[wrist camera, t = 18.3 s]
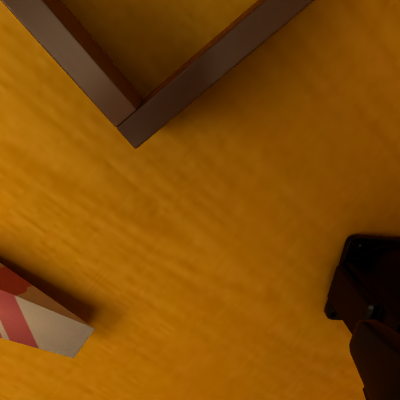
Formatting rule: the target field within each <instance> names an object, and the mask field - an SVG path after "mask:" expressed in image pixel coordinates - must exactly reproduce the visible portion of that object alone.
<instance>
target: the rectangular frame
mask: <svg viewBox="0 0 400 400" xmlns="http://www.w3.org/2000/svg"><path fill="white" fill-rule="evenodd" d="M1 1H2V2H3V3H4V4H5V5H6V6H7V8H8V9H9V10H10V11H11V12H12V13H13V14H14V15H15V16H16V18H17V19H18V20H19V21H20V22H21V23H22V24H23V25H24V26H25V28H26V29H27V30H28V31H29V32H30V33H31V34H32V35H33V36H34V37H35V39H36V40H37V41H38V42H39V43H40V44H41V45H42V46H43V47H44V49H45V50H46V51H47V52H48V53H49V54H50V55H51V56H52V57H53V58H54V60H55V61H56V62H57V63H58V64H59V65H60V66H61V67H62V68H63V70H64V71H65V72H66V73H67V74H68V75H69V76H70V77H71V78H72V80H73V81H74V82H75V83H76V84H77V85H78V86H79V87H80V88H81V89H82V91H83V92H84V93H85V94H86V95H87V96H88V97H89V98H90V99H91V101H92V102H93V103H94V104H95V105H96V106H97V107H98V108H99V109H100V110H101V112H102V113H103V114H104V115H105V116H106V117H107V118H108V119H109V120H110V122H111V123H112V124H113V125H114V126H115V127H117V129H118V130H119V132H120V133H121V134H122V135H123V136H124V137H125V138H126V139H127V140H128V142H129V143H130V144H131V145H132V146H133V147H134V148H135V149H136V148H138V147H139V146H140V145H141V144H143V143H144V142H145V141H146V140H147V139H149V138H150V137H151V136H152V135H153V134H155V133H156V132H157V131H158V130H159V129H161V128H162V127H163V126H164V125H165V124H167V123H168V122H169V121H170V120H171V119H173V118H174V117H175V116H176V115H177V114H179V113H180V112H181V111H182V110H183V109H185V108H186V107H187V106H188V105H189V104H191V103H192V102H193V101H194V100H195V99H197V98H198V97H199V96H200V95H201V94H203V93H204V92H205V91H206V90H207V89H209V88H210V87H211V86H212V85H213V84H215V83H216V82H217V81H218V80H219V79H221V78H222V77H223V76H224V75H225V74H227V73H228V72H229V71H230V70H231V69H232V68H234V67H235V66H236V65H237V64H238V63H240V62H241V61H242V60H243V59H244V58H246V57H247V56H248V55H249V54H250V53H252V52H253V51H254V50H255V49H256V48H258V47H259V46H260V45H261V44H262V43H264V42H265V41H266V40H267V39H268V38H270V37H271V36H272V35H273V34H274V33H276V32H277V31H278V30H279V29H280V28H282V27H283V26H284V25H285V24H286V23H288V22H289V21H290V20H291V19H292V18H294V17H295V16H296V15H297V14H298V13H300V12H301V11H302V10H303V9H304V8H306V7H307V6H308V5H309V4H310V3H312V2H313V1H314V0H258V1H257V2H256V3H255V4H254V5H252V6H251V7H250V8H249V9H248V10H247V11H246V12H244V13H243V14H242V15H241V16H240V17H239V18H237V19H236V20H235V21H234V22H233V23H232V24H230V25H229V26H228V27H227V28H226V29H225V30H224V31H222V32H221V33H220V34H219V35H218V36H217V37H215V38H214V39H213V40H212V41H211V42H210V43H209V44H207V45H206V46H205V47H204V48H203V49H202V50H200V51H199V52H198V53H197V54H196V55H195V56H193V57H192V58H191V59H190V60H189V61H188V62H187V63H185V64H184V65H183V66H182V67H181V68H180V69H178V70H177V71H176V72H175V73H174V74H173V75H172V76H170V77H169V78H168V79H167V80H166V81H165V82H163V83H162V84H161V85H160V86H159V87H158V88H156V89H155V90H154V91H153V92H152V93H151V94H150V95H148V96H147V97H146V98H145V99H144V100H143V98H142V96H141V95H140V94H139V93H138V92H137V90H136V89H135V88H134V87H133V86H132V84H131V83H130V82H129V81H128V80H127V78H126V77H125V76H124V75H123V74H122V72H121V71H120V70H119V69H118V68H117V66H116V65H115V64H114V63H113V62H112V60H111V59H110V58H109V57H108V56H107V55H106V53H105V52H104V51H103V50H102V49H101V47H100V46H99V45H98V44H97V43H96V41H95V40H94V39H93V38H92V37H91V35H90V34H89V33H88V32H87V31H86V29H85V28H84V27H83V26H82V25H81V23H80V22H79V21H78V20H77V19H76V17H75V16H74V15H73V14H72V13H71V11H70V10H69V9H68V8H67V7H66V5H65V4H64V3H63V2H62V1H61V0H1Z"/></svg>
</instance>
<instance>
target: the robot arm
mask: <svg viewBox="0 0 400 400" xmlns="http://www.w3.org/2000/svg"><path fill="white" fill-rule="evenodd" d="M355 241H357V242H356V244H354V245H352V244H353V243H354V242H355ZM332 311H334V312H332ZM324 312H325V314H326V316H327V318H329V319H331V320H343V321H344V323H345V324H346V326H347V327H348V329H349V330H350V332H351V334H352V338H351V340H350V344H349V348H350V353H351V356H352V358H353V360H354V363H355V365H356V367H357V370H358V372H359V375H360V377H361V379H362V382H363V384H364V386H365V387H364V388H363V392H364V395H365V398H366V400H400V238H399V237H384V236H369V235H351V236H349V237H348V238H347V240H346V242H345V246H344V249H343V252H342V255H341V258H340V262H339V265H338V266H337V267H336V271H335V274H334V277H333V280H332V283H331V287H330V290H329V293H328V300H327V303H326V307H325V310H324ZM331 312H332V313H331Z"/></svg>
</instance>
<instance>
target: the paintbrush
mask: <svg viewBox="0 0 400 400" xmlns="http://www.w3.org/2000/svg"><path fill="white" fill-rule="evenodd" d="M94 330H95V329H94V328H93V327H92V326H90V325H89V324H87V323H86V322H84V321H83V320H82V319H80V318H79V317H77V316H76V315H74V314H73V313H72V312H70V311H69V310H67V309H66V308H64V307H63V306H62V305H60V304H59V303H57V302H56V301H54V300H53V299H51V298H50V297H49V296H47V295H46V294H44V293H43V292H41V291H40V290H39V289H37V288H36V287H34V286H33V285H31V284H30V283H29V282H27V281H26V280H24V279H23V278H21V277H20V276H19V275H17V274H16V273H14V272H13V271H11V270H10V269H9V268H7V267H6V266H4V265H3V264H1V263H0V338H3V339H7V340H11V341H14V342H18V343H21V344H25V345H28V346H32V347H36V348H39V349H43V350H46V351H50V352H54V353H57V354H61V355H64V356H68V357H72V358H74V357H75V355H76V354H77V353H78V351H79V350H80V349H81V347H82V346H83V345H84V343H85V342H86V340H87V339H88V338H89V336H90V335H91V334H92V332H93V331H94Z"/></svg>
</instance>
